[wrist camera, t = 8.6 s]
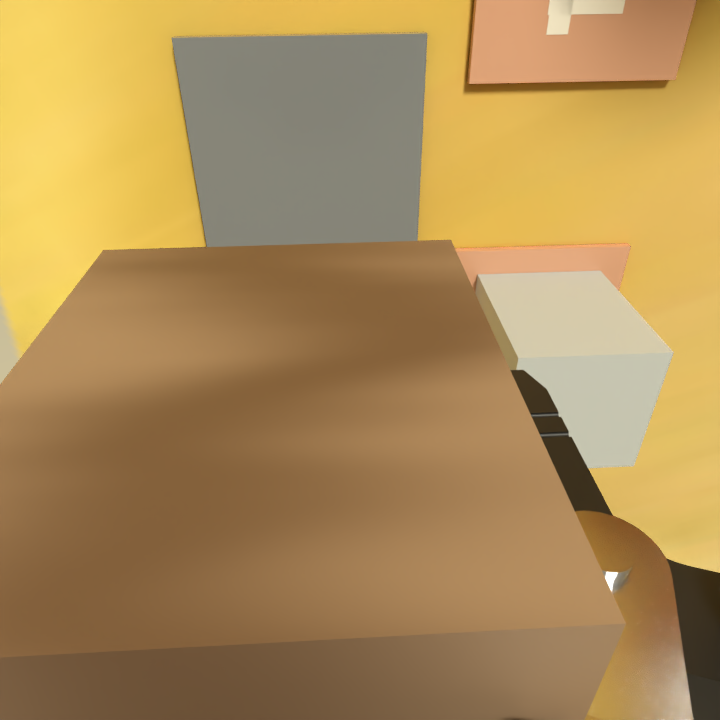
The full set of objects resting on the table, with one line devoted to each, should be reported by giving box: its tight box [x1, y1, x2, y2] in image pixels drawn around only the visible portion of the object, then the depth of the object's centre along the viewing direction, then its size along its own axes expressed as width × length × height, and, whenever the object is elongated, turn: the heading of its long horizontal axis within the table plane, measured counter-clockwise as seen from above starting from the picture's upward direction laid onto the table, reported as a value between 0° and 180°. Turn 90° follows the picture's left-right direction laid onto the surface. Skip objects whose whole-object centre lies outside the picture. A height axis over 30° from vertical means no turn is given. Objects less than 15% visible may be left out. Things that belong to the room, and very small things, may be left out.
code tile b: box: [455, 243, 631, 292], centre depth 25 cm, size 7×7×1 cm
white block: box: [475, 271, 674, 468], centre depth 22 cm, size 5×5×6 cm
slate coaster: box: [172, 32, 427, 247], centre depth 21 cm, size 8×8×1 cm
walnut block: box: [0, 240, 626, 720], centre depth 7 cm, size 5×5×6 cm
